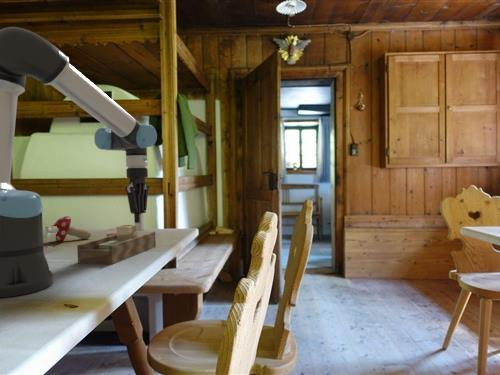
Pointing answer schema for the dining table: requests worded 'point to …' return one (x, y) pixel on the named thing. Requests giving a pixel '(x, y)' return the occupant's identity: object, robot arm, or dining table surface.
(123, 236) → the maple block
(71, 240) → the dining table surface
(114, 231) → the brick
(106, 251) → the box
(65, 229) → the decorative mushroom
